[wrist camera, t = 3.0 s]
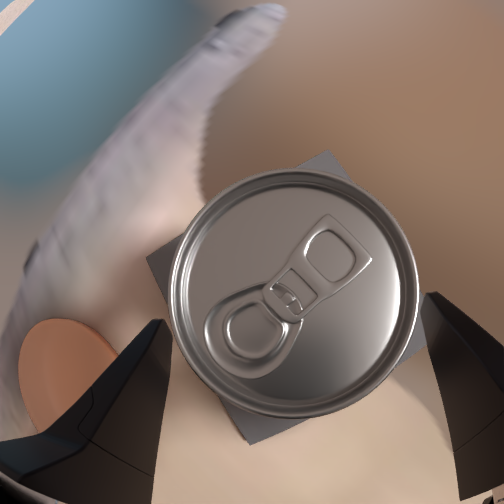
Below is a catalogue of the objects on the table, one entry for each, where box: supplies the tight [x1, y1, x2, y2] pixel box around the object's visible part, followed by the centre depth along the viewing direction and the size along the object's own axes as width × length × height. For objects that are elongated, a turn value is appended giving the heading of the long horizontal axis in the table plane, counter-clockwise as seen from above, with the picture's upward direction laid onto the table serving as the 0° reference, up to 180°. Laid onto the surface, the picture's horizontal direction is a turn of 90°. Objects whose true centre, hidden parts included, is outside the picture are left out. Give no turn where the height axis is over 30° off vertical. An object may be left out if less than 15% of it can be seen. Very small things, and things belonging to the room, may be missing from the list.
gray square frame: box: [146, 150, 427, 445], centre depth 17 cm, size 14×14×1 cm
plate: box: [18, 319, 118, 433], centre depth 18 cm, size 13×13×1 cm
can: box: [168, 168, 420, 420], centre depth 12 cm, size 6×6×12 cm
